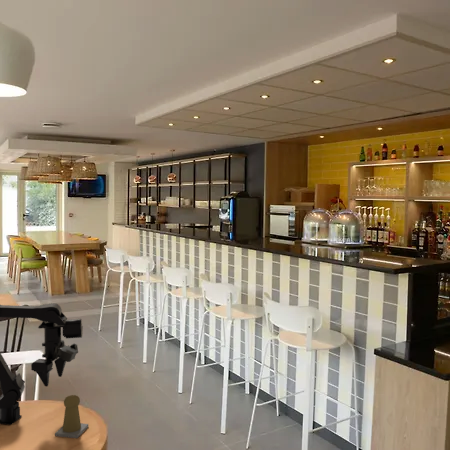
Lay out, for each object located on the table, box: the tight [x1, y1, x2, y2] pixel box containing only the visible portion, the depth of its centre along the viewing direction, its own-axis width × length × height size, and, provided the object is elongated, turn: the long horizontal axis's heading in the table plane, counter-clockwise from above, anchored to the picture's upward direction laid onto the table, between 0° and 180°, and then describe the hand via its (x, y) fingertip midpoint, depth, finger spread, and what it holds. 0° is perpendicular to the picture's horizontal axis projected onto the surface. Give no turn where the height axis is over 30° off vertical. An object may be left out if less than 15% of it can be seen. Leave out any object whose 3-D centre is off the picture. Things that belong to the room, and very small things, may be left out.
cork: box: [62, 394, 82, 432], centre depth 156 cm, size 6×6×11 cm
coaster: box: [54, 422, 89, 439], centre depth 156 cm, size 8×8×1 cm
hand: (53, 381), depth 166 cm, fingers open, 9 cm apart
